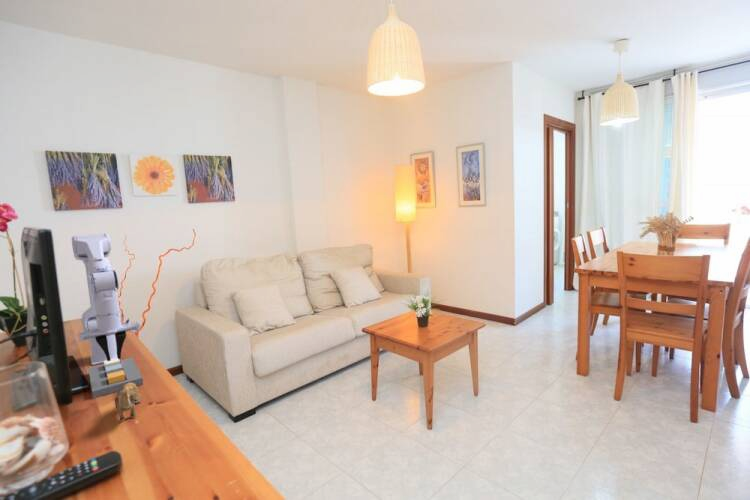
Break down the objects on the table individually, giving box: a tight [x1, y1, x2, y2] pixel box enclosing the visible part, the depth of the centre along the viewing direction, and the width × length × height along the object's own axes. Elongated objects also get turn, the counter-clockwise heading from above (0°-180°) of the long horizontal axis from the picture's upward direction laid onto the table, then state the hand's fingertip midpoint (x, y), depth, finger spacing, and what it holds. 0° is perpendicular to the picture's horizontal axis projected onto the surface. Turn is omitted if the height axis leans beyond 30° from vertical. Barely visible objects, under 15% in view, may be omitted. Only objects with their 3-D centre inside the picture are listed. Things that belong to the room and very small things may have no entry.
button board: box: [88, 356, 144, 399], centre depth 118 cm, size 21×12×2 cm, turn 39°
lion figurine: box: [114, 382, 142, 424], centre depth 97 cm, size 15×5×9 cm, turn 34°
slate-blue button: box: [105, 364, 123, 376], centre depth 118 cm, size 4×4×2 cm
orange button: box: [107, 370, 126, 385], centre depth 113 cm, size 4×4×2 cm
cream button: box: [103, 358, 120, 370], centre depth 123 cm, size 4×4×2 cm
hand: (113, 358), depth 112 cm, fingers closed
